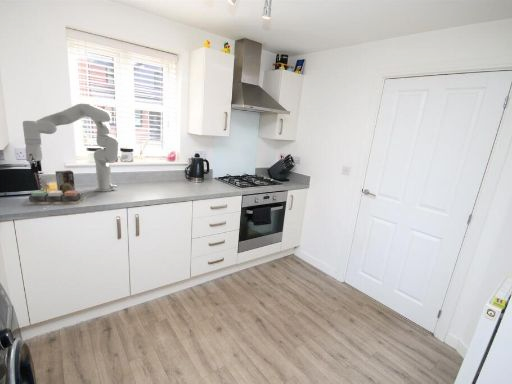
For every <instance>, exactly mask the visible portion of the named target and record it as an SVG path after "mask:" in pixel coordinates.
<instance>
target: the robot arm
mask: <svg viewBox="0 0 512 384" xmlns="http://www.w3.org/2000/svg"><path fill="white" fill-rule="evenodd" d="M86 117H87V118H90V120H92V122H94V125H96V145H97V146H99V147H101V148H98V149H96V150H95V151H94V152H93V158H94V162H95V170H96V172H95V173H96V187H95V188H94V190H95V191H96V192H110V191H114V188H115V189H117V188H118V187H119V186H118V185H116V184H113V183H112V175H111V164H114V163H115V162H116V161H117V159H118V155H119V153H118V152H119V151H118V150H119V142H118V141H119V140H118V139H117V138H116V137H115V136H114V135H111V126H110V123H109V122H110V121H111V119H112V115H111V113H110V112H109V111H108V110H106V109H103V108H102V107H101V108H100V107H98V106H95V105H93V104H89V103H77V104H75V105H73V106H70V107H68V108H66V109H64V110H62V111H59V112H56V113H52V114H49V115H46V116H43V117H41V118H39V119H37V120H23V121H22V129H23V131H22V132H23V136H24V137H23V138H24V144H25V160H26V162H28V163H29V166H30V172H31V173H32V174H39V172H42V171H43V169H42V160H43V153H42V152H43V151H42V147H41V146H42V138H41V136H42V135H41V134H45V135H46V134H47V135H52V134H53V135H54V134H55V133H56V132H57V129H58V126H59V127H60V126H66V125H67V126H68V125H71V124H73V123H75V122H77V121H79V120H81V119H83V118H86Z"/></svg>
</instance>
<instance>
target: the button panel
mask: <svg viewBox="0 0 512 384" xmlns="http://www.w3.org/2000/svg"><path fill="white" fill-rule="evenodd" d="M48 193H49V192H47V194H46V195H45V196H32V194H30V195H29V196H28V200H29V201H26V203H25V204H26V205H68V204H69V205H72V204H74V205H77V204H80V203H81V202H82V201H83V200H84V197H81V192H78V194H77V195H76V196H65V195H64V193H63V194H62V195H61V196H48Z"/></svg>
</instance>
